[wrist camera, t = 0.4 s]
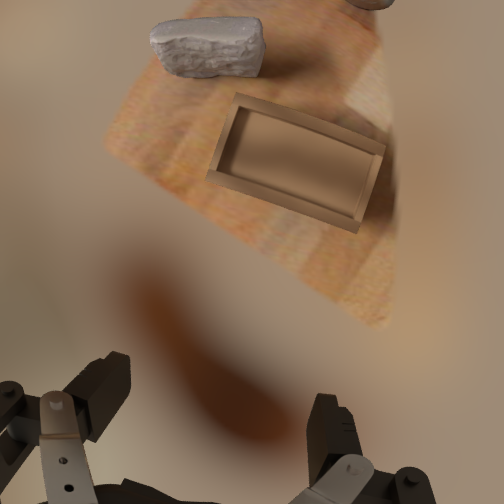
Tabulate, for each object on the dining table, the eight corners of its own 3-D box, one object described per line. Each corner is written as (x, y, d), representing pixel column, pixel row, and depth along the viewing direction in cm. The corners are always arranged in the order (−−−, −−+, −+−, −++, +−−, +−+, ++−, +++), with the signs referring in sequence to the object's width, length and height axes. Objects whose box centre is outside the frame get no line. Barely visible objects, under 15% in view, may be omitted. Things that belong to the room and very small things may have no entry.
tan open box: (241, 105, 33) (236, 92, 28) (371, 152, 33) (386, 145, 28) (215, 182, 35) (204, 180, 30) (345, 228, 34) (356, 234, 29)
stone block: (268, 51, 35) (264, 12, 25) (264, 84, 35) (259, 51, 26) (176, 49, 35) (149, 15, 25) (170, 81, 36) (140, 53, 26)
